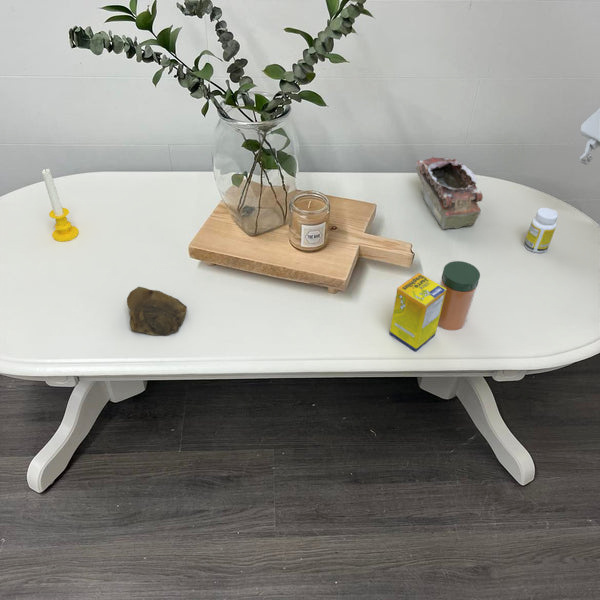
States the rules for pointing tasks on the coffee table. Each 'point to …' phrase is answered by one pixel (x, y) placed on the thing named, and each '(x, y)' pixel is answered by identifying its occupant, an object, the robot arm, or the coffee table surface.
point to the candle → (58, 212)
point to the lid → (460, 276)
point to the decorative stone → (154, 312)
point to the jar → (455, 308)
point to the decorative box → (449, 191)
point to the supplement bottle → (541, 230)
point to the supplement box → (417, 311)
